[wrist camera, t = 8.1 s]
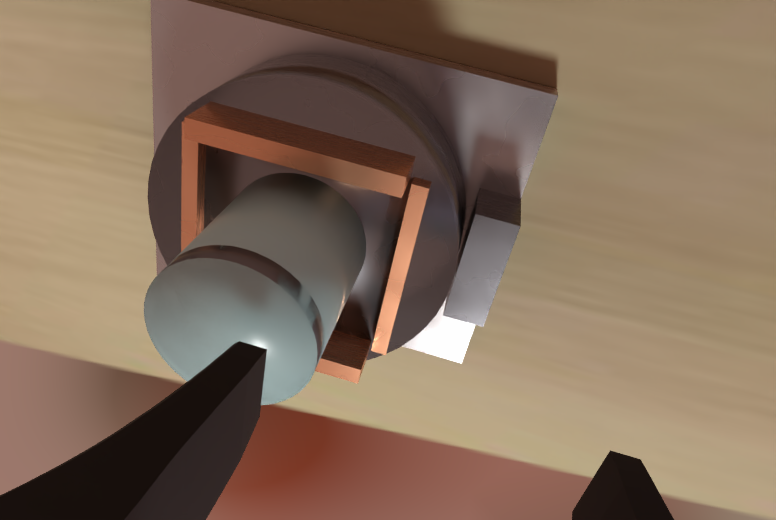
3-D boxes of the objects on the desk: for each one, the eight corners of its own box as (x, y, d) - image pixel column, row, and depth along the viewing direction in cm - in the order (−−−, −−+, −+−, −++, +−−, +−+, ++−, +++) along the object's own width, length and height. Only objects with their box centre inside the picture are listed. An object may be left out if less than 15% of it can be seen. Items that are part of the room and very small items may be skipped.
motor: (556, 88, 18) (567, 147, 14) (463, 350, 24) (449, 450, 20) (163, -13, 19) (52, 12, 14) (166, 265, 25) (88, 342, 20)
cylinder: (378, 195, 17) (330, 289, 13) (353, 312, 19) (305, 424, 15) (235, 155, 17) (140, 235, 13) (227, 276, 20) (146, 376, 15)
